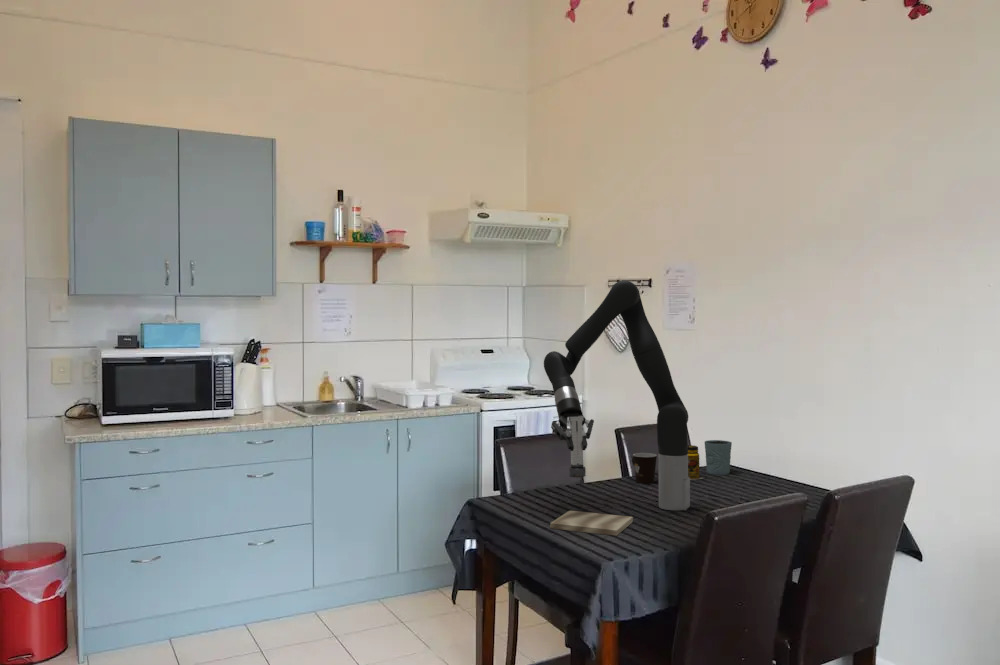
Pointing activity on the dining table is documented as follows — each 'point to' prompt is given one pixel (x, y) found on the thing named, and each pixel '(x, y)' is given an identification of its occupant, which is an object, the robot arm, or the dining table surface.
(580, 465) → the grey pillar block
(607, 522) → the birch board
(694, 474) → the condiment
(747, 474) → the dining table surface
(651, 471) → the coffee mug
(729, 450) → the teal embossed plant pot
